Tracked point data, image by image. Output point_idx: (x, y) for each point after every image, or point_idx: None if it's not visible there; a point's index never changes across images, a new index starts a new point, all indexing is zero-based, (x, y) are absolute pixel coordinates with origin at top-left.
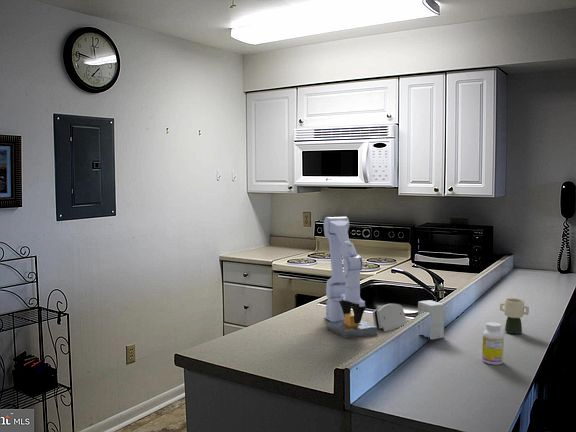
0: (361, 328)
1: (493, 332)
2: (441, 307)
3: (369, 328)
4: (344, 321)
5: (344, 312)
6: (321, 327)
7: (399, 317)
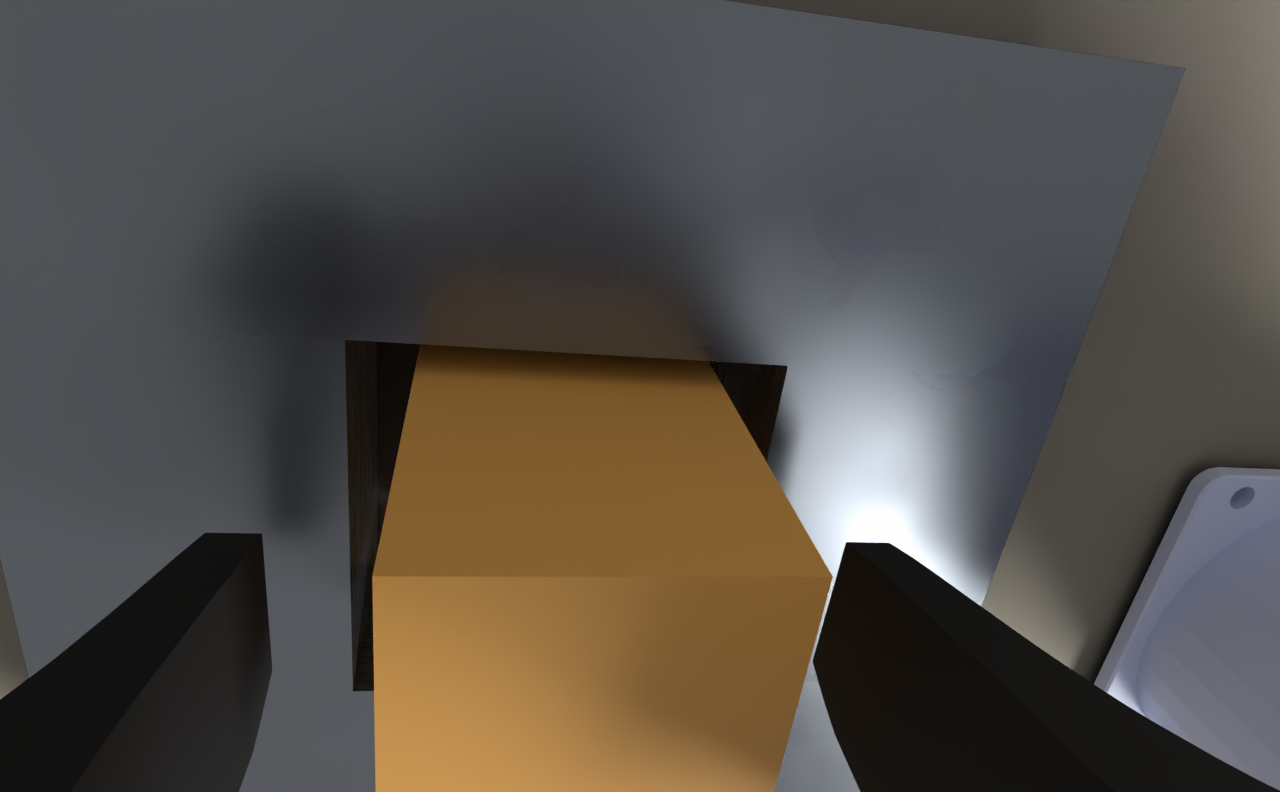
0: (36, 529)
1: None
2: None
3: None
4: (741, 423)
5: (968, 669)
6: (1264, 24)
7: None
